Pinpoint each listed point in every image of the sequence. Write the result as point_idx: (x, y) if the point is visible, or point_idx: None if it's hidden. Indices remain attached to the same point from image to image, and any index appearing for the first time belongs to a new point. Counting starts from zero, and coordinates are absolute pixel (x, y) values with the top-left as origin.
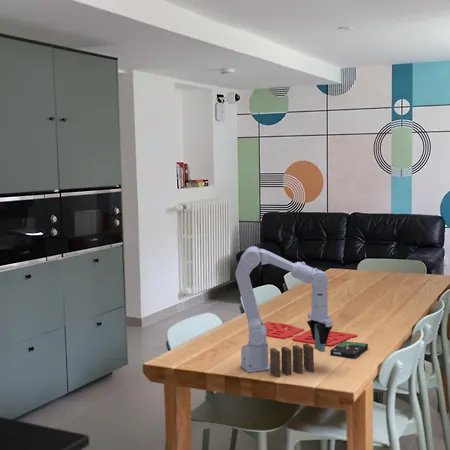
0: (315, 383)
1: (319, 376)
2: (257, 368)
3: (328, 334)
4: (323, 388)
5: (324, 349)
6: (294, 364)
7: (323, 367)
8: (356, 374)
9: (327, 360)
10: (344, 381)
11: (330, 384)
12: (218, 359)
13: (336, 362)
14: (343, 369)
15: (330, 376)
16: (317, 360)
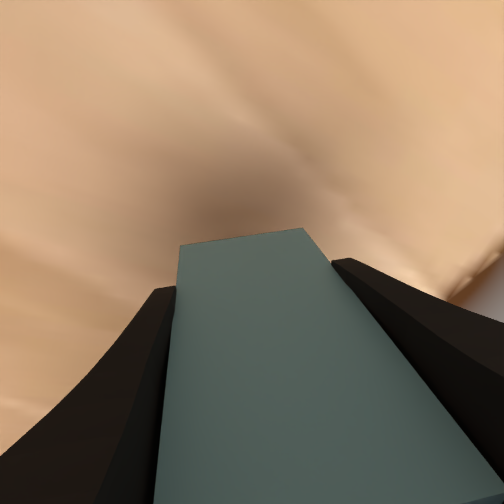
0: (409, 283)
1: (342, 242)
2: None
3: (464, 311)
4: (471, 271)
5: (308, 240)
6: None
7: (211, 170)
8: (418, 3)
9: (49, 73)
10: (465, 149)
11: (454, 230)
12: None
13: (114, 17)
14: (291, 48)
15: (367, 190)
16: (46, 153)
